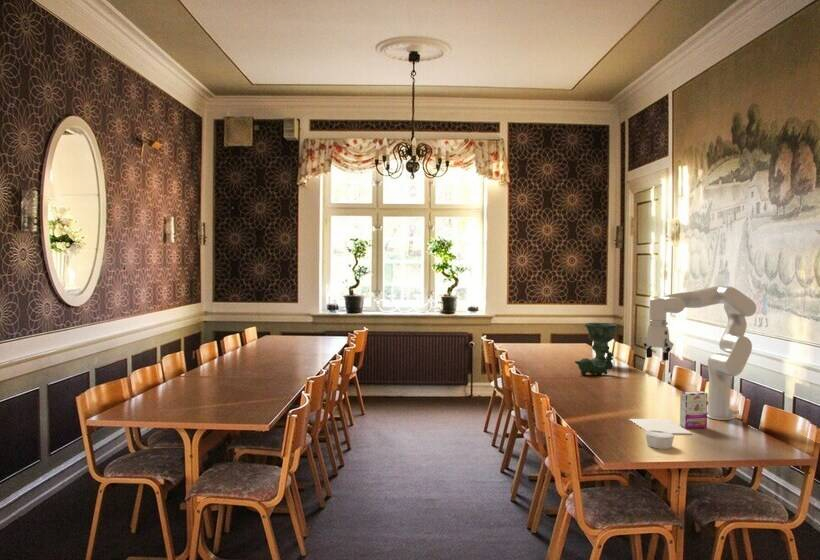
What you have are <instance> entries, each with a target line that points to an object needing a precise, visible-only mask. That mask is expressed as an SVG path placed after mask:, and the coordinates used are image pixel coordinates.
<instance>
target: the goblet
mask: <svg viewBox="0 0 820 560" xmlns="http://www.w3.org/2000/svg"><path fill="white" fill-rule="evenodd" d="M584 326H585V327H586V329H587V333H588V336H587V337H588V338H589V340H590V341H592V342H593V344H592V346H591V349H592V350H593V351H594V353H595V357H594V358H591V359H590V360H591V361H592V362H593V363H594V364H596V365H600V366H602V365H603V364H604V363H605V360H606V356H605V355H606V353H605V352H604V351H602V352H600V351H601V350H602V349H608V350H610V346H609V342H611V341H613V339H614V333H615V331H616V329H617V328H618V326H619V325H618V324H615V323H611V322H587V323H585V324H584ZM610 367H612V368H613V367H614V365H613V364H611V365H610Z"/></svg>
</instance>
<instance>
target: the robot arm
mask: <svg viewBox="0 0 820 560" xmlns="http://www.w3.org/2000/svg"><path fill="white" fill-rule="evenodd" d="M718 304H723V308H724V311H725V313H726V316H727V325H726V328H725V329H724V332H723V334H722V336H721V338H720V341H719V344H718V347H719V349H720V350H721V351H723V352H725V353H727V354H725V353H718V352H717V353H715V352H714V353H713V354H711V355H710V356H709V357H708V359H707V369H708V396H707V419H711V420H716V421H718V420H719V421H731V420H733V415H739V414H740V410H737V409H732V408H730V406H731V405H730V404H731V377H737V376H739V375H741V373H742V372H743V370H744V369H745V366H746V364H747V362H748V360H749V358H750V356H751V354H752V351H753V344H752V341H751V340H750V339H749V337H747V336H745V334H746V331H747V327H748V325H747V319H746V318H747V317H752V316H754V315H755V314H756V312H757V304H756V303H755V301H754V300H753V299H752V298H750V297H749V296H747V295H746V294H744V293H743V292H741V291H740V290H738V289H737V288H735V287H733V286H726V285H716V286H711V287H706V288H702V289H698V290H697V289H696V290H691V291H686V292H685V291H684V292H679V293H678V292H677V293H672V294H667V295H662V296H661V297H652V298H650V299H649V325H648V327H647V331H646V337H645V338H643V339H642V341H641V342H642V343H643V346H644V348H645V350H646V355H645V357H646V358H647V359H650V358H652V357H653V349H652V348H660V349H662V351H663V352H662V361H664V362H666V361H669V357H670V355H669V354H670V352H671V350H672V349H673V347H674V343H673V342H672V341H670V332H669V328H668V326H667V325H668V323H669V322H667V313H672V314H679V313H681V312H682V311H684V309H685V308H687V309H690V308H691V309H697V308H698V309H699V308H704V307H709V306H713V305H718Z"/></svg>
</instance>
